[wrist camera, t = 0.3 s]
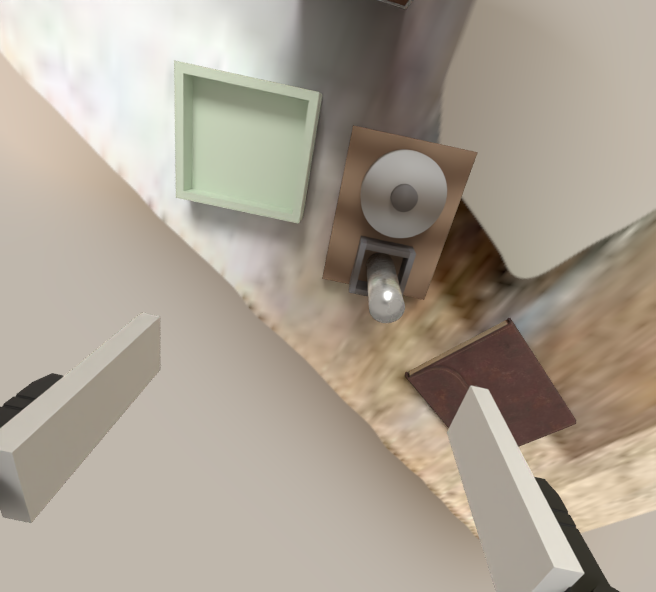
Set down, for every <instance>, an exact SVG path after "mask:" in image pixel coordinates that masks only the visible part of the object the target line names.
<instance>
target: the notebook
mask: <svg viewBox="0 0 656 592" xmlns="http://www.w3.org/2000/svg"><path fill="white" fill-rule="evenodd" d="M508 321H509V322H508ZM508 321H507V320H505V321H504V322H502V323H500V324H498V325H496V326H494V327H492V328H490V329H488V330H486V331H485V332H483V333H481V334H479V335H477V336H475V337H473V338H471V339H469V340H468V341H466V342H464V343H462V344H460V345H458V346H456V347H454V348H452V349H450V350H449V351H447V352H445V353H443V354H441V355H439V356H437V357H435V358H433V359H432V360H430V361H428V362H426V363H424V364H422V365H420V366H418V367H416V368H414V369H413V370H411V371H409V373H410V375H409V374H408V372H406V373H405V376H406V378H407V379H408V380H409V381H410V383H411V384H412V385H413V386H414V387H415V388H416V390H417V391H418V392H419V393H420V394H421V396H422V397H423V398H424V399H425V400H426V402H427V403H428V404H429V405H430V406H431V408H432V409H433V410H434V411H435V412H436V413H437V415H438V416H439V417H440V418H441V419H442V421H443V422H444V423H445V424H446V425H447V427H448V428H449V427H450V425H451V423H452V421H453V419H454V417H455V415H456V413H457V411H458V409H459V407H460V405H461V403H462V401H463V399H464V397H465V395H466V393H467V391H468V390H469V388H470V386H475V387H480V388H484V389H488V390H489V392H490V394H491V396H492V397H493V399H494V401H495V403H496V405H497V407H498V409H499V411H500V413H501V415H502V417H503V418H504V420H505V422H506V424H507V426H508V428H509V430H510V432H511V434H512V436H513V438H514V440H515V441H516V443H517V445H518V447H519V446H521V445H524V444H526V443H529V442H531V441H534V440H537V439H539V438H542V437H544V436H547V435H549V434H552V433H554V432H557V431H559V430H562V429H564V428H567V427H569V426H572V425H574V424H576V419H575V418H574V416H573V415H572V413H571V411H570V410H569V408H568V407H567V405H566V404H565V402H564V401H563V399H562V397H561V396H560V394H559V393H558V391H557V390H556V388H555V387H554V385H553V383H552V382H551V380H550V379H549V377H548V376H547V374H546V373H545V371H544V369H543V368H542V366H541V365H540V363H539V362H538V360H537V359H536V357H535V355H534V354H533V352H532V351H531V349H530V348H529V346H528V345H527V343H526V341H525V340H524V338H523V337H522V335H521V334H520V332H519V331H518V329H517V327H516V326H515V324H514V323H513V321H512V320H511V319H510V318H508Z"/></svg>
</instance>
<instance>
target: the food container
mask: <svg viewBox="0 0 656 592" xmlns="http://www.w3.org/2000/svg"><path fill="white" fill-rule="evenodd" d="M378 1H381V2H384V3H387V4H390V5H393V6H396V7H400V8H403V9H407V7H408V6H409V5H410V4H411V2H412V1H413V0H378Z"/></svg>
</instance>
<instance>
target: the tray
mask: <svg viewBox="0 0 656 592" xmlns="http://www.w3.org/2000/svg"><path fill="white" fill-rule="evenodd" d="M174 84H175V172H176V198H180V199H184V200H189V201H194V202H199V203H203V204H208V205H213V206H218V207H222V208H227V209H232V210H236V211H241V212H246V213H251V214H255V215H260V216H265V217H270V218H274V219H279V220H284V221H288V222H293V223H298V224H299V223H300V221H301V219H302V218H303V214H304V208H305V201H306V195H307V189H308V183H309V176H310V170H311V164H312V157H313V151H314V145H315V139H316V132H317V126H318V120H319V114H320V107H321V101H322V94H321V93H320V92H317V91H312V90H307V89H303V88H298V87H294V86H289V85H284V84H280V83H275V82H271V81H266V80H262V79H257V78H252V77H248V76H243V75H239V74H234V73H229V72H225V71H220V70H216V69H211V68H206V67H202V66H197V65H193V64H188V63H184V62H179V61H174Z"/></svg>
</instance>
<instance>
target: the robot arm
mask: <svg viewBox="0 0 656 592" xmlns="http://www.w3.org/2000/svg"><path fill="white" fill-rule="evenodd" d="M159 371H160V316H156V315H152V314H147V313H143V312H142V313H140V314H139V315H138V316H137V317H135V318H134V319H133V320H132V321H131V322H129V323H128V324H127V325H126V326H124V327H123V328H122V329H121V330H120V331H118V332H117V333H116V334H115V335H113V336H112V337H111V338H110V339H109V340H107V341H106V342H105V343H104V344H102V345H101V346H100V347H99V348H98V349H96V350H95V351H94V352H93V353H92V354H90V355H89V356H88V357H87V358H85V359H84V360H83V361H82V362H81V363H79V364H78V365H77V366H76V367H75V368H73V369H72V370H71V371H70V372H68V373H67V374H66V375H65V376H62V375H58V374H53V373H52V374H50V375H47V376H45V377H43V378H41V379H39V380H36V381H34V382H32V383H31V384H29V385H28V386H27V387H26V388H24V389H23V390H21V391H20V392H19V393H18V394H17V395H16V397H12V398H11V399H10V400H8V401H7V402H6V403H4V405H3V406H2V407H0V510H1V513H2V516H3V517H5V518H9V519H14V520H19V521H24V522H29V523H32V522H33V520H34V519H35V518H36V517H37V516H38V515H39V513H40V512H41V511H42V510H43V509H44V508H45V506H46V505H47V504H48V503H49V502H50V500H51V499H52V498H53V497H54V496H55V494H56V493H57V492H58V491H59V490H60V488H61V487H62V486H63V485H64V484H65V483H66V481H67V480H68V479H69V478H70V476H71V475H72V474H73V473H74V472H75V470H76V469H77V468H78V467H79V466H80V465H81V463H82V462H83V461H84V460H85V458H86V457H87V456H88V455H89V454H90V453H91V452H92V450H93V449H94V448H95V447H96V446H97V444H98V443H99V442H100V441H101V440H102V438H103V437H104V436H105V435H106V434H107V432H108V431H109V430H110V429H111V428H112V426H113V425H114V424H115V423H116V422H117V421H118V419H119V418H120V417H121V416H122V415H123V413H124V412H125V411H126V410H127V409H128V407H129V406H130V405H131V404H132V402H134V400H135V399H136V398H137V397H138V395H139V394H140V393H141V392H142V391H143V390H144V388H145V387H146V386H147V385H148V384H149V382H150V381H151V380H152V379H153V378H154V376H155V375H156V374H157V373H158V372H159ZM447 434H448V437H449V441H450V444H451V447H452V450H453V454H454V457H455V460H456V464H457V467H458V470H459V473H460V477H461V480H462V483H463V486H464V490H465V493H466V496H467V499H468V503H469V506H470V509H471V512H472V516H473V519H474V522H475V525H476V529H477V532H478V535H479V538H480V542H481V545H482V548H483V551H484V554H485V558H486V561H487V564H488V568H489V571H490V574H491V577H492V581H493V584H494V587H495V590H496V592H619V591H618V590H616V589H615V588H612V587H611V586H610V585H609V583H608V582H607V580H606V578H605V576H604V575H603V573H602V571H601V569H600V567H599V566H598V564H597V562H596V560H595V558H594V557H593V555H592V553H591V551H590V550H589V548H588V546H587V544H586V543H585V541H584V539H583V537H582V535H581V534H580V532H579V530H578V529H576V525H575V523H574V521H573V520H572V518H571V516H570V515H568V511H567V509H566V507H565V505H564V504H563V502H562V500H561V498H560V497H559V495H558V494H557V493H556V491H555V490H554V489H553V488H552V487H551V486H550V485H549V484H548V482H547V481H546V480H545V479H542V478H537V477H534V476H533V474H532V472H531V470H530V468H529V466H528V464H527V462H526V461H525V459H524V457H523V455H522V453H521V451H520V449H519V447H518V445H517V443H516V441H515V440H514V438H513V436H512V434H511V432H510V430H509V428H508V426H507V424H506V422H505V420H504V418H503V417H502V415H501V413H500V411H499V409H498V407H497V405H496V403H495V401H494V399H493V397H492V396H491V394H490V392H489V390H488V389H484V388H480V387H475V386H470V388H469V390H468V391H467V393H466V395H465V397H464V399H463V401H462V403H461V405H460V407H459V409H458V411H457V413H456V415H455V417H454V419H453V421H452V423H451V425H450V427H449V429H448V431H447Z"/></svg>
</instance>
